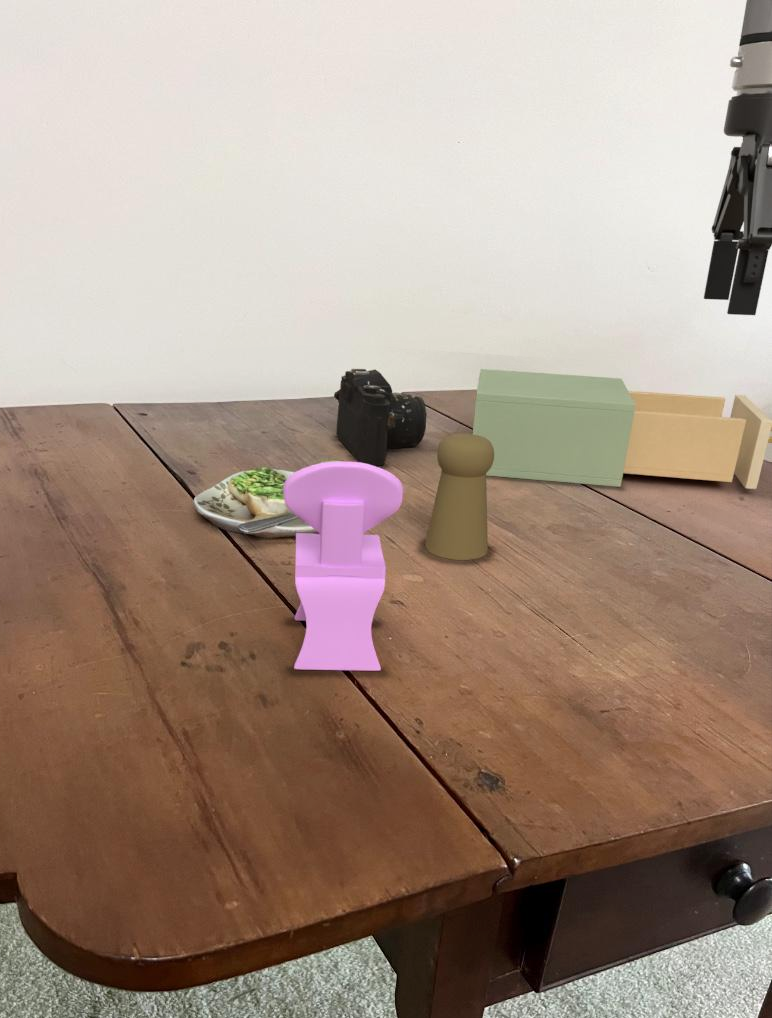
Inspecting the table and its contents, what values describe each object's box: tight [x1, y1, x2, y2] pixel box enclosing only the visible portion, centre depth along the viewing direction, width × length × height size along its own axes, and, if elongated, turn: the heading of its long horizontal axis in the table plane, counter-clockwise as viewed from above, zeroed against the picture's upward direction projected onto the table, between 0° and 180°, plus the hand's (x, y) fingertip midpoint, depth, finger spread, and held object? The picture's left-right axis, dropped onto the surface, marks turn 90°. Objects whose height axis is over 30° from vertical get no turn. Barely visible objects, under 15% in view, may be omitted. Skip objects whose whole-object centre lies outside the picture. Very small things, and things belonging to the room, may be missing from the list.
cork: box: [424, 433, 494, 561], centre depth 86 cm, size 6×6×11 cm
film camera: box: [333, 368, 428, 467], centre depth 118 cm, size 18×12×10 cm
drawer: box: [623, 390, 772, 490], centre depth 111 cm, size 22×14×8 cm, turn 79°
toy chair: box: [283, 461, 404, 672], centre depth 67 cm, size 8×9×15 cm
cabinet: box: [471, 368, 635, 488], centre depth 114 cm, size 18×15×10 cm
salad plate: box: [193, 459, 346, 539], centre depth 94 cm, size 19×18×5 cm
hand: (727, 306), depth 104 cm, fingers open, 13 cm apart
